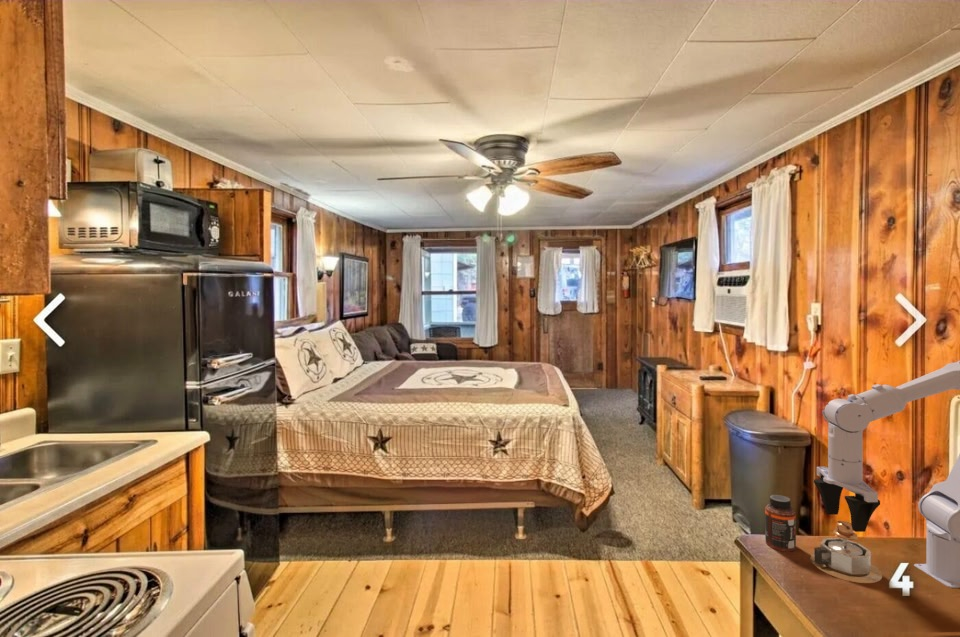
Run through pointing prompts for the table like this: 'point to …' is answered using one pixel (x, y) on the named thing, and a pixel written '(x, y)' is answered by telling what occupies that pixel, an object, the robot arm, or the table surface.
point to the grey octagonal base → (845, 563)
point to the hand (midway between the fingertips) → (844, 522)
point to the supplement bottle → (780, 524)
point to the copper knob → (845, 540)
